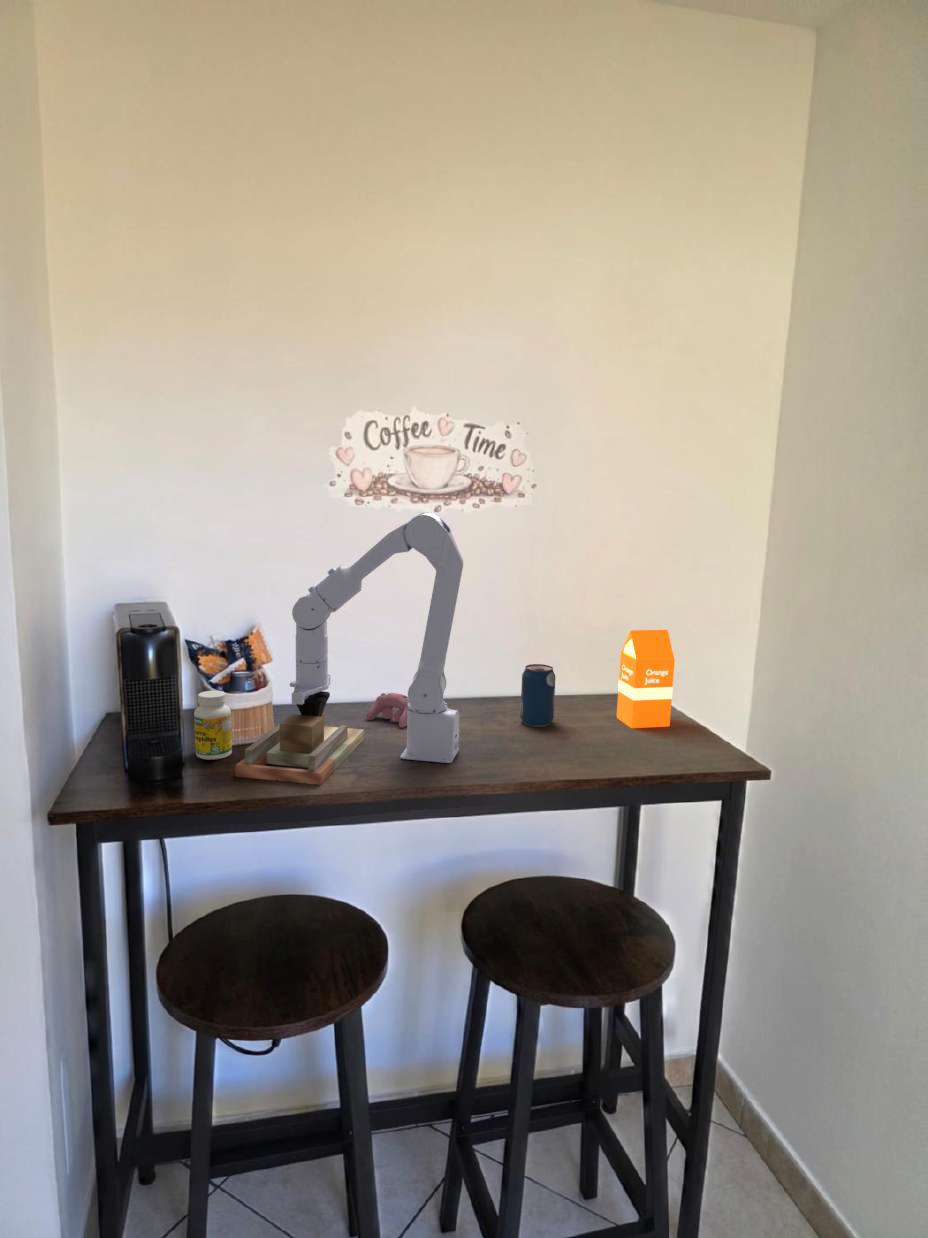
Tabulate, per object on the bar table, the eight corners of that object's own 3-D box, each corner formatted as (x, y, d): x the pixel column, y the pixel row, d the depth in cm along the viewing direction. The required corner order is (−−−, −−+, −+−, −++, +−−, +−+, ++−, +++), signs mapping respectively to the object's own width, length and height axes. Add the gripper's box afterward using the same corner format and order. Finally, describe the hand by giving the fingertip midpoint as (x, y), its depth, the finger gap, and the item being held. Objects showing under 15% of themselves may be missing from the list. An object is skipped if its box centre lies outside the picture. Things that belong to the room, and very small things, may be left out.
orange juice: (670, 726, 174) (677, 633, 171) (631, 728, 172) (638, 634, 169) (652, 715, 182) (659, 626, 178) (615, 717, 180) (621, 626, 176)
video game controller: (413, 732, 170) (422, 699, 172) (401, 727, 167) (411, 694, 168) (375, 723, 175) (384, 691, 177) (363, 718, 172) (372, 686, 173)
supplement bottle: (238, 751, 152) (237, 691, 150) (218, 762, 146) (217, 700, 144) (208, 746, 153) (207, 687, 151) (187, 757, 147) (185, 696, 145)
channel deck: (363, 739, 160) (363, 717, 159) (320, 785, 137) (320, 759, 136) (290, 733, 163) (290, 710, 162) (235, 776, 139) (234, 751, 139)
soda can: (560, 724, 173) (562, 669, 171) (534, 730, 169) (536, 672, 167) (538, 716, 179) (541, 662, 177) (513, 720, 175) (515, 665, 173)
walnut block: (323, 743, 151) (323, 716, 150) (312, 754, 145) (312, 726, 144) (292, 740, 152) (292, 714, 151) (279, 751, 146) (279, 723, 145)
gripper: (305, 650, 158) (305, 718, 161) (274, 667, 144) (275, 742, 147) (340, 652, 157) (340, 721, 159) (313, 670, 143) (313, 745, 145)
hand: (312, 731), depth 153 cm, fingers closed
